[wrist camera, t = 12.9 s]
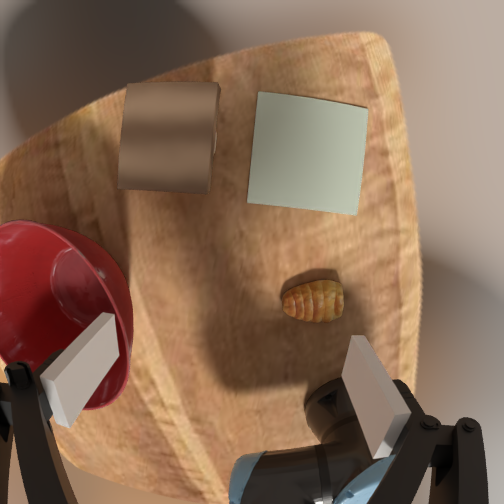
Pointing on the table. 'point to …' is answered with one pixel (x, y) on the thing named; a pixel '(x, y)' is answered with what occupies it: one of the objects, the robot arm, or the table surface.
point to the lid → (168, 136)
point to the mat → (307, 153)
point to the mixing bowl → (60, 298)
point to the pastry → (314, 301)
